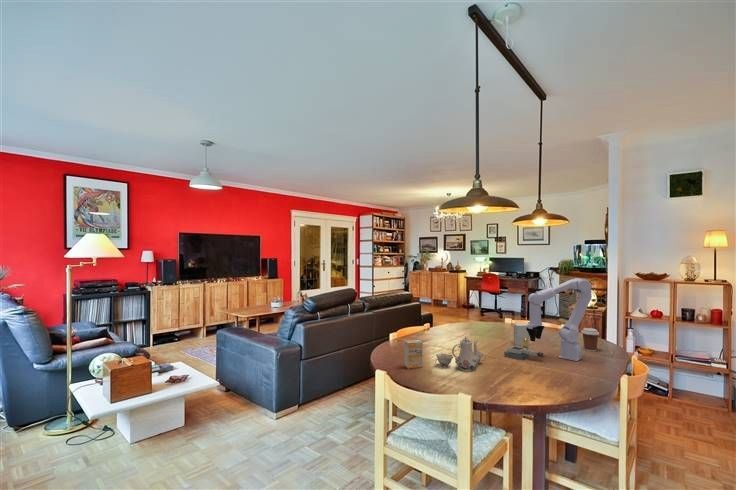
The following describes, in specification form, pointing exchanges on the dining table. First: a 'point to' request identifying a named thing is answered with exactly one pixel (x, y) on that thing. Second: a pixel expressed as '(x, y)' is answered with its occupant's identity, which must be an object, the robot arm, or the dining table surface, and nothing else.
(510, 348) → the collar
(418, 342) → the supplement box
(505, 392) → the dining table surface
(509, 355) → the block
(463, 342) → the chinaware
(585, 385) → the dining table surface
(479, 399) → the dining table surface
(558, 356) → the robot arm
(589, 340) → the coffee cup
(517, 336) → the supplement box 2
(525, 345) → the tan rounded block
